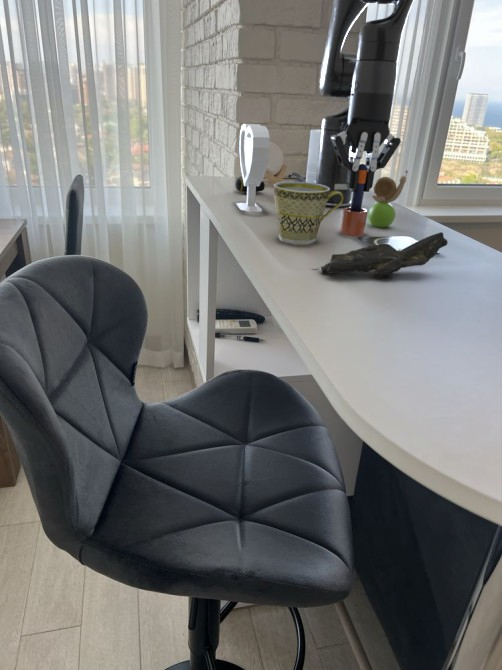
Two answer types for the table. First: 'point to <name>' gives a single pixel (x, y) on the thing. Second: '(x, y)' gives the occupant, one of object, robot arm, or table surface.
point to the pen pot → (353, 222)
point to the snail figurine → (385, 201)
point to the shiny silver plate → (390, 241)
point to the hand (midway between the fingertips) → (358, 190)
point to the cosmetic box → (313, 156)
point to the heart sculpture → (253, 161)
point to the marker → (359, 189)
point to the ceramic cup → (301, 210)
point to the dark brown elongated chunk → (386, 257)
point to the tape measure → (243, 189)
